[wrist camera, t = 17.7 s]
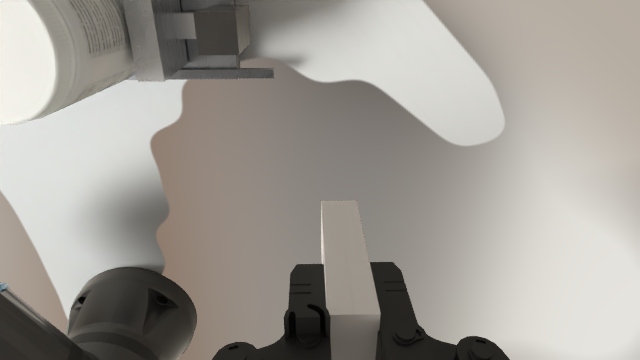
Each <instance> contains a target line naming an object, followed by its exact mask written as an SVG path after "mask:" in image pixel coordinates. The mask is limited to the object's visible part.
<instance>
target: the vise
mask: <svg viewBox="0 0 640 360" xmlns="http://www.w3.org/2000/svg"><path fill="white" fill-rule="evenodd" d="M179 2H180V9H181V12H194V11H197V10H200V9H203V8H207V7H210V6H213V5H235V1H234V0H179ZM185 45H186V52H187V59H188V64H187V65H186V66H184V67H183V68H182V69H180V70H179V71H178V72H176V73H175V74H174V75H172V76H171V77H169V78H168V79H238V78H274V76H275V75H274V68H240V60H239V55H198V47H197V39H185ZM126 80H138V78H137V74H136V75H134V76H132V77H130V78H128V79H126Z"/></svg>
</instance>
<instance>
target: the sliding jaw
mask: <svg viewBox="0 0 640 360" xmlns="http://www.w3.org/2000/svg"><path fill="white" fill-rule="evenodd" d="M122 1H123V6H124V11H125V16H126V22H127V27H128V32H129V37H130V42H131V47H132V52H133V57H134V62H135V67H136V73H137V78H138V81H165V80H167V79H168V78H169V77H171V76H172V75H174V74H175V73H176V72H178V71H179V70H180V69H182V68H183V67H184V66H186V65H187V64H188V59H187V52H186V45H185V39H197V47H198V55H240V54H241V53H242V51H243V50H244V49H245V48H246V47H247V46H248V45H249V43H250V42H251V34H250V20H249V6H248V5H213V6H210V7H207V8H203V9H200V10H197V11H194V12H181V9H180V2H179V0H122Z"/></svg>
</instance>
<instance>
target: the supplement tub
mask: <svg viewBox="0 0 640 360" xmlns="http://www.w3.org/2000/svg"><path fill="white" fill-rule="evenodd" d="M136 74H137V73H136V67H135V62H134V57H133V52H132V47H131V42H130V37H129V32H128V27H127V22H126V16H125V11H124V6H123V1H122V0H0V125H15V124H20V123H24V122H27V121H31V120H35V119H39V118H42V117H45V116H47V115H49V114H51V113H53V112H56V111H58V110H60V109H62V108H65V107H67V106H69V105H71V104H74V103H76V102H78V101H80V100H82V99H84V98H86V97H89V96H91V95H93V94H95V93H97V92H100V91H102V90H104V89H106V88H108V87H110V86H113V85H115V84H117V83H119V82H121V81H124V80H126V79H128V78H130V77H132V76H134V75H136Z"/></svg>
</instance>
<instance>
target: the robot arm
mask: <svg viewBox="0 0 640 360" xmlns="http://www.w3.org/2000/svg"><path fill="white" fill-rule="evenodd" d="M321 259H322V264H298V265H296V266H295V268H294V269H293V271H292V272H291V275H290V292H289V308H288V310H287V311H286V313H285V316H284V329H285V333H284V335H283V336H282V337H281V339H280V340H278V341H277V342H275V343H274V344H272V345H269V346H266V347H263V348H260V349H256V348H255V347H254V346H253V345H251V344H249V343H246V342H235V343H231V344H228V345H226V346H224V347H223V348H221V349H220V350H219V351H218V352H217V353H216V355H215V356H214V357H213V359H212V360H510V359H509V358H508V357H507V356H506V355H505V354H504V352H503V351H502V350H501V349H500V348H499V347H498V346H497V345H496V344H495V343H493V342H491V341H489V340H488V339H486V338H482V337H478V336H469V337H466V338H463V339H461V340H460V341H459V343H458V344H457V345H454V344H450V343H446V342H441V341H439V340H436V339H433V338H432V337H430V336H428V335H427V334H426V333H425V331H424V329H423V328H422V327H420V326H419V325H418V323H417V320H416V317H415V314H414V311H413V308H412V304H411V301H410V298H409V295H408V292H407V288H406V285H405V283H404V279H403V275H402V272H401V270H400V269H399V268H398V267H397V266H396V265H395V264H394V263H393V262H370V261H369V257H368V252H367V248H366V242H365V238H364V233H363V228H362V224H361V219H360V215H359V210H358V205H357V200H340V201H339V200H338V201H321ZM8 287H9V286H8V285H7V284H6V283H1V282H0V360H178V359H179V358H180V356H181V355H182V354H183V353H184V351H185V350H186V349H187V347H188V346H189V344H190V342H191V339H192V337H193V334H194V331H195V327H196V323H197V314H196V309H195V306H194V304H193V302H192V300H191V299H190V297H189V296H188V294H187V293H186V292H185V291H184V290H183V289H182V288H181V287H180V286H178V285H177V284H176V283H175V282H173V281H172V280H170V279H168V278H166V277H164V276H162V275H160V274H158V273H155V272H152V271H148V270H143V269H137V268H119V269H112V270H108V271H105V272H103V273H100V274H98V275H96V276H95V277H93V278H92V279H91V280H89V281H88V282H87V283H86V285H85V286H84V287H83V289H82V290H81V291H80V293H79V294H78V296H77V297H76V299H75V300H74V302H73V305H72V307H71V311H70V315H69V320H68V324H67V329H66V333H65V334H63V333H62V332H61V331H60V330H58V329H57V328H56V327H55V326H53V325H52V324H51V323H50V322H48V321H47V320H46V319H45V318H43V317H42V316H41V315H40V314H39V313H37V312H36V311H35V310H34V309H33V308H32V307H30V306H29V305H28V304H27V303H26V302H24V301H23V300H22V299H21V298H20V297H18V296H17V295H16V294H15V293H14V292H12V291H11V290H10V289H9V288H8Z"/></svg>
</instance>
